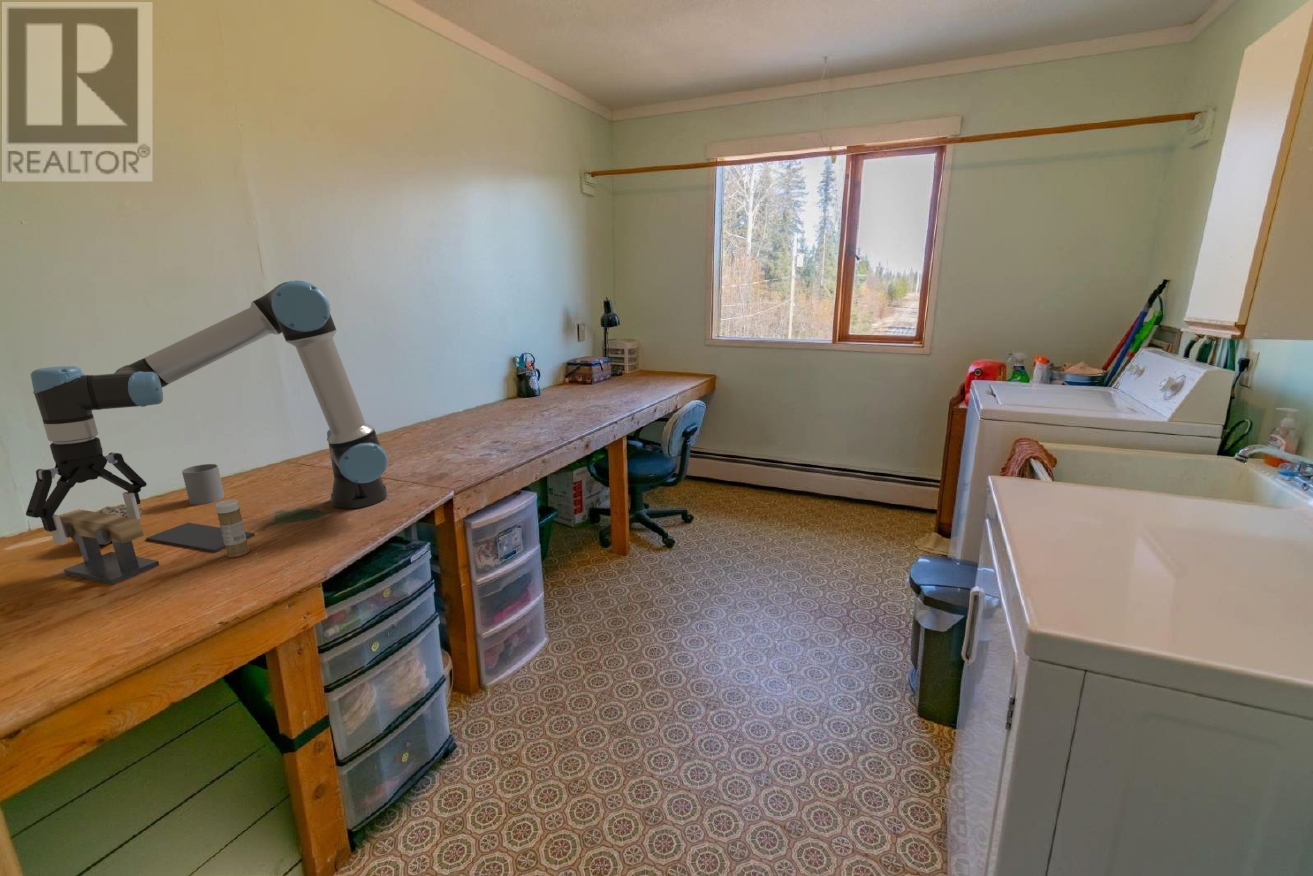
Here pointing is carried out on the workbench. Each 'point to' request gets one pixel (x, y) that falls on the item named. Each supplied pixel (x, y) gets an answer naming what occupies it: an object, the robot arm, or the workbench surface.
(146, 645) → the workbench surface
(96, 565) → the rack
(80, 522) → the rail
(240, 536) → the sprinkles bottle
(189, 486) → the cup
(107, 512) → the pumice stone
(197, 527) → the mat
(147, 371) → the robot arm
